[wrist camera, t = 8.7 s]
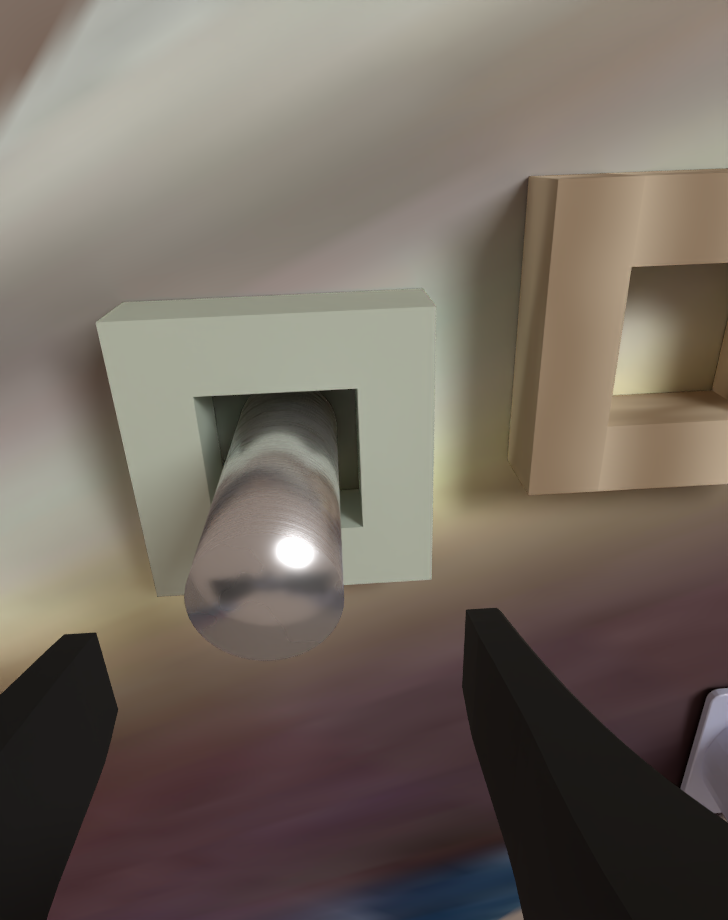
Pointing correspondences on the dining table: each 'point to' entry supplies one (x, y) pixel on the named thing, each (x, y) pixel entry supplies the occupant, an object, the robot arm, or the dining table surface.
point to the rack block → (273, 371)
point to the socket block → (610, 334)
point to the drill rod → (272, 533)
